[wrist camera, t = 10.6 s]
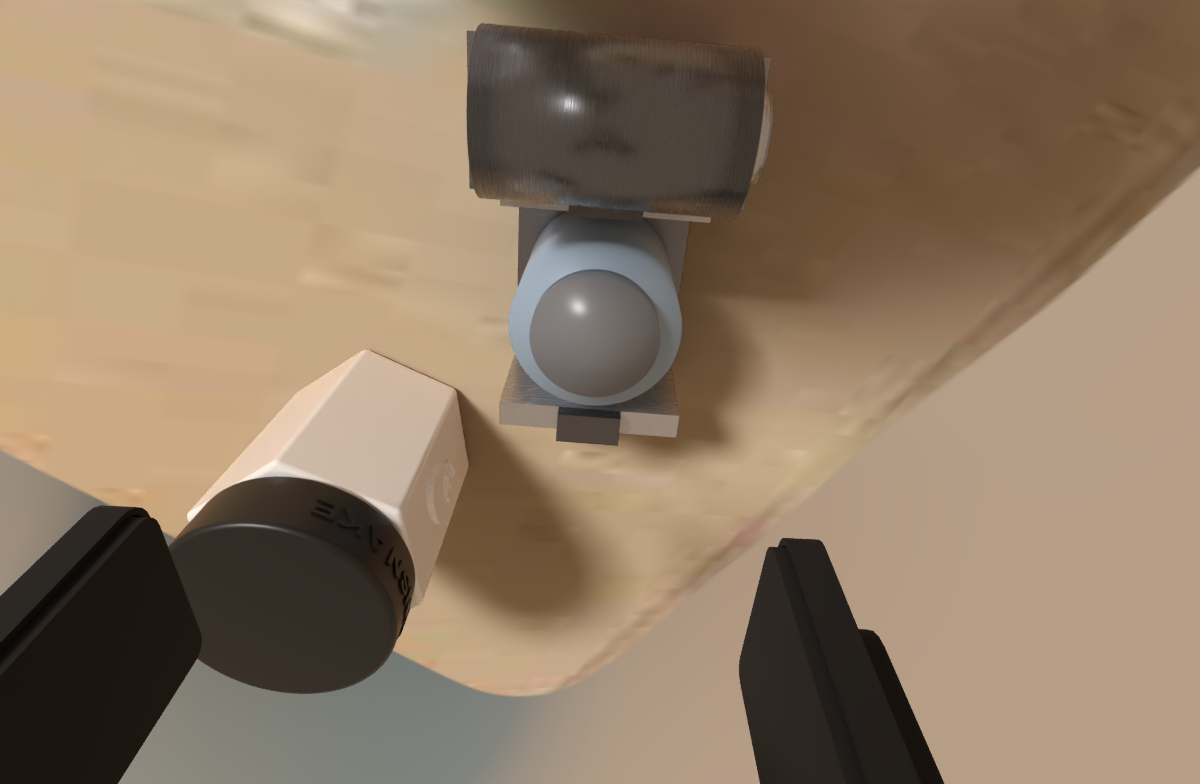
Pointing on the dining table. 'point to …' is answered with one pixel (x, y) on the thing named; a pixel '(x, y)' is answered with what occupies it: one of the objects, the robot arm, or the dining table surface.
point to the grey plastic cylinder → (596, 310)
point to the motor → (611, 164)
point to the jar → (325, 529)
